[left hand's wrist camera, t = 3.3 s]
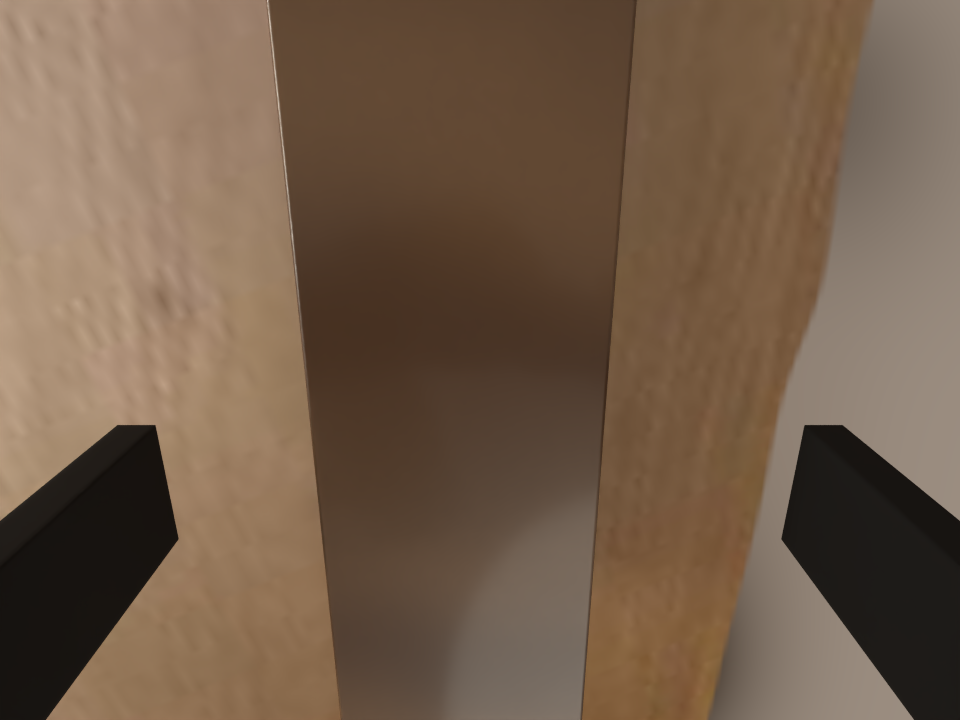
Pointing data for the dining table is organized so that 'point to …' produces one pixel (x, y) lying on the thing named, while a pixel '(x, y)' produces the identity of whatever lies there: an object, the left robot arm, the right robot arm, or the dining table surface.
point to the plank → (456, 334)
